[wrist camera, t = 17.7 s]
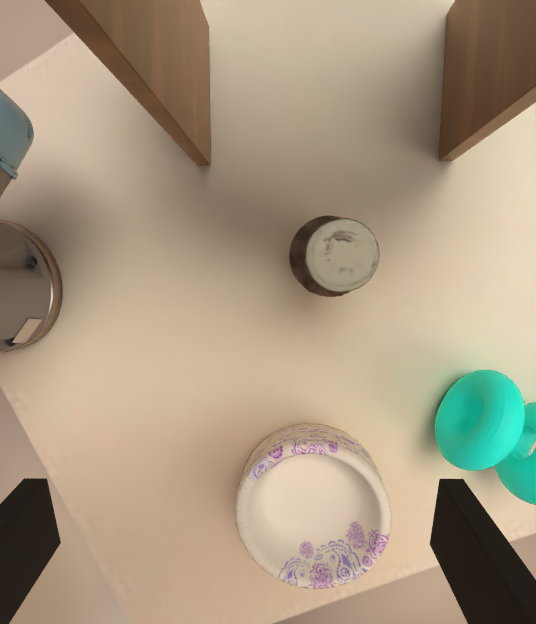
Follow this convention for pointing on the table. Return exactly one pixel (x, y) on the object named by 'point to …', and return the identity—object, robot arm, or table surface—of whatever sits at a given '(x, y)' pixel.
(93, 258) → the table surface
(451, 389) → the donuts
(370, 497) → the paper bowls
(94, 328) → the table surface
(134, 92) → the shelf
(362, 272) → the sauce bottle
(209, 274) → the table surface
